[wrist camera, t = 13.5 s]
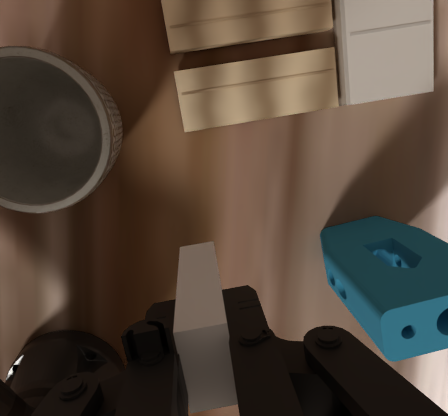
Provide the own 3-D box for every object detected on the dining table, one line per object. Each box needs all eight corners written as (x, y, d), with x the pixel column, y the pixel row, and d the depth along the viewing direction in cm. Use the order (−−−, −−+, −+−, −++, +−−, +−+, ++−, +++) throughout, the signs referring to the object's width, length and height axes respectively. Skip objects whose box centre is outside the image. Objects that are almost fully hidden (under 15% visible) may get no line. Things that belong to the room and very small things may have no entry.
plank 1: (170, 54, 42) (170, 51, 40) (158, -11, 40) (158, -17, 38) (326, 31, 43) (333, 27, 41) (321, -33, 42) (328, -40, 40)
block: (394, 211, 50) (521, 276, 31) (397, 245, 51) (522, 329, 32) (306, 232, 50) (379, 312, 30) (312, 266, 51) (385, 363, 32)
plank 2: (184, 131, 44) (184, 132, 42) (173, 73, 43) (173, 71, 40) (331, 106, 46) (339, 106, 44) (327, 49, 44) (334, 46, 42)
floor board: (339, 105, 46) (345, 105, 44) (329, -34, 42) (336, -41, 40) (423, 91, 46) (434, 91, 44) (421, -48, 42) (433, -56, 40)
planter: (113, 49, 42) (81, 25, 30) (149, 169, 46) (133, 193, 33) (-9, 79, 42) (-95, 67, 29) (36, 197, 45) (-22, 232, 33)
